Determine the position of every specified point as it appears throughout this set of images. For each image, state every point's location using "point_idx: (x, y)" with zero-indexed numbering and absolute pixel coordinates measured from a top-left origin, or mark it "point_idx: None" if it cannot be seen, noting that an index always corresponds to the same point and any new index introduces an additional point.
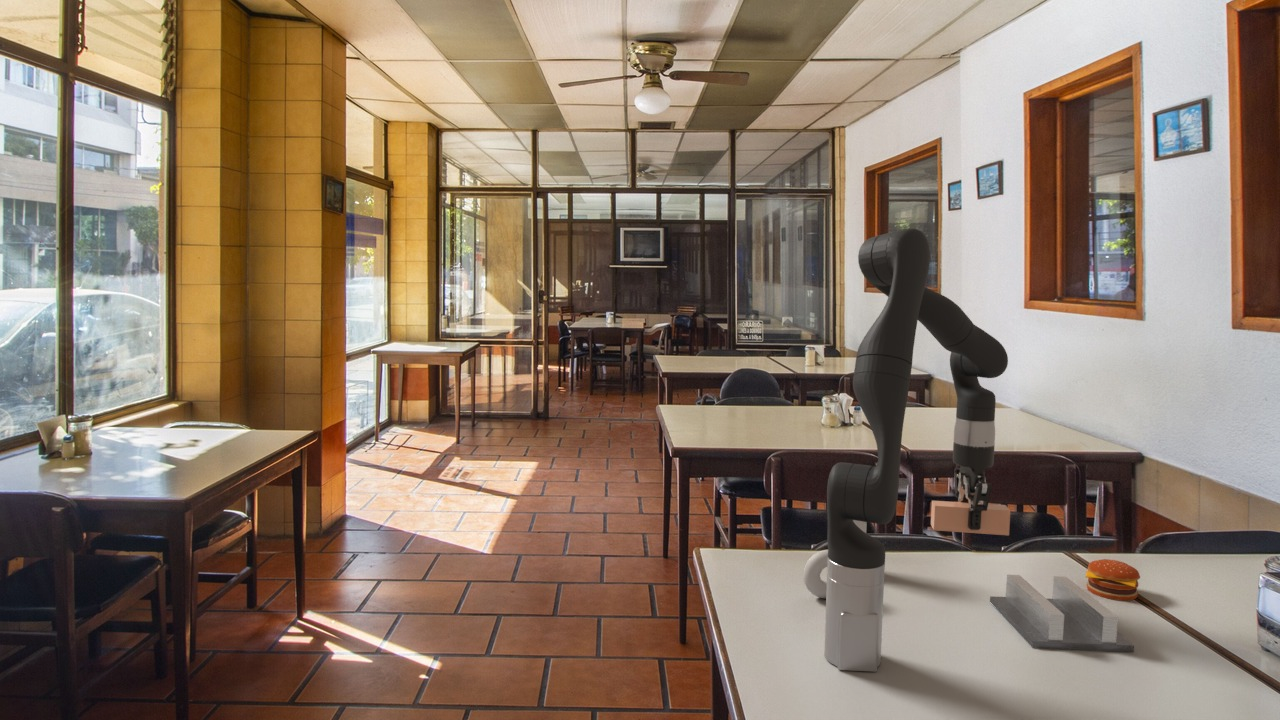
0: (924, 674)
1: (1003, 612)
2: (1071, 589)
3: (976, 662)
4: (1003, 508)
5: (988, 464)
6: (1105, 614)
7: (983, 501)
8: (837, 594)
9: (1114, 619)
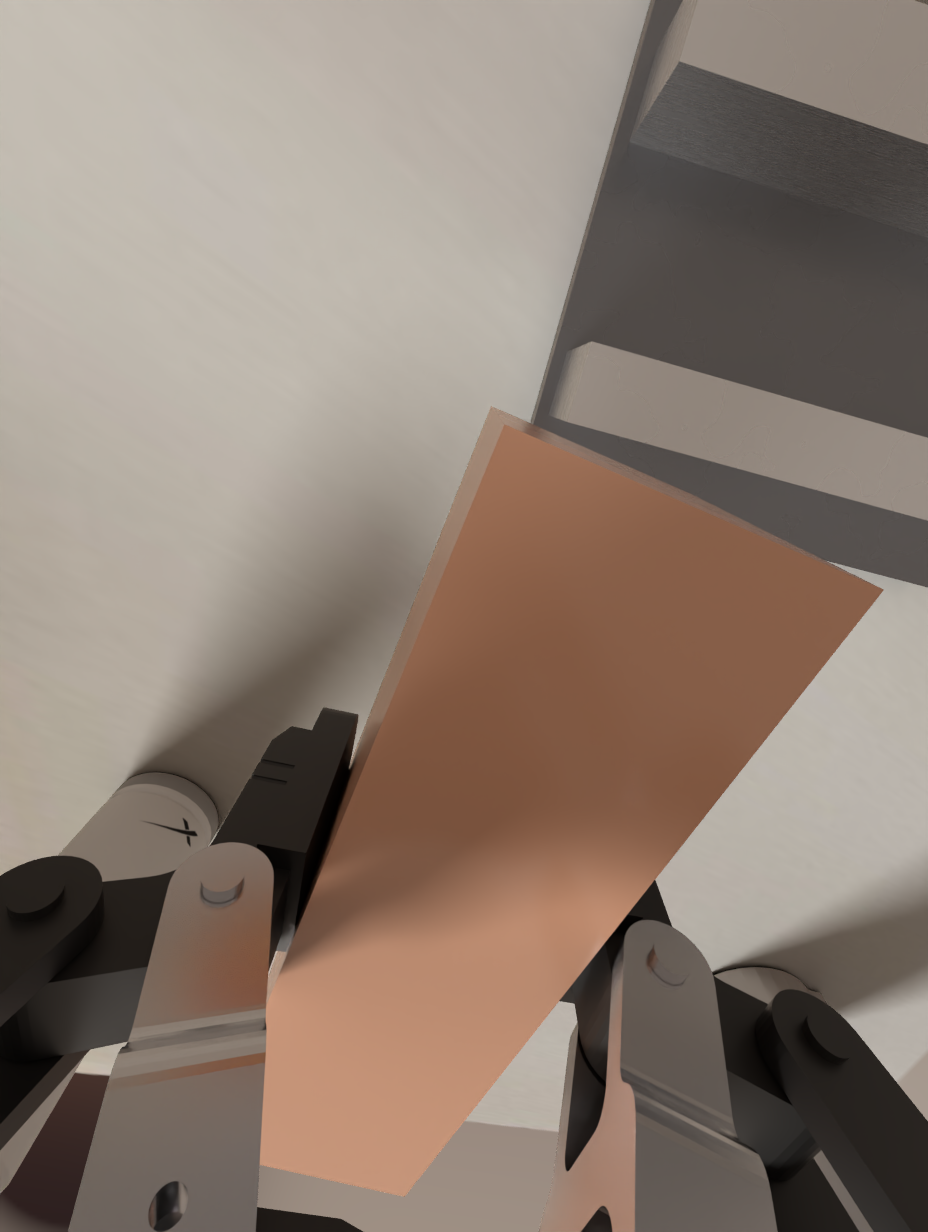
0: (876, 920)
1: None
2: (923, 130)
3: (893, 791)
4: (717, 631)
5: None
6: None
7: (845, 1184)
8: None
9: None
